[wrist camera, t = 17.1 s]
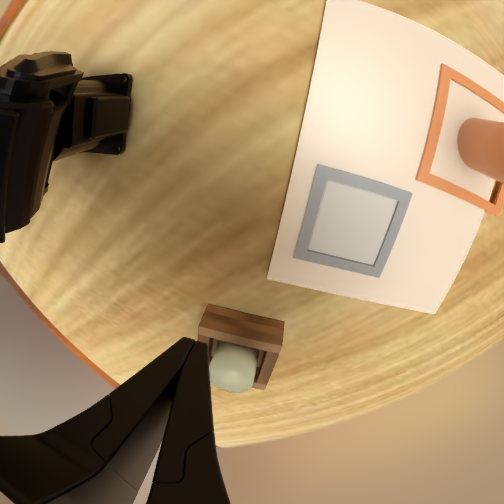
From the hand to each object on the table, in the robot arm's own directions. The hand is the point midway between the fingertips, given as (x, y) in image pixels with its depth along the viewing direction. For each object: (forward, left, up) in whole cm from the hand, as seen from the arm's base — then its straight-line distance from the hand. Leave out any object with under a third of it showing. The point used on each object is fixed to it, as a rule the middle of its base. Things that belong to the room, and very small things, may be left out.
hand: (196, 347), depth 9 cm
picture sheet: (+10, +6, -13) cm, 17 cm away
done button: (+1, -13, -12) cm, 18 cm away
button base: (+1, -13, -13) cm, 18 cm away
